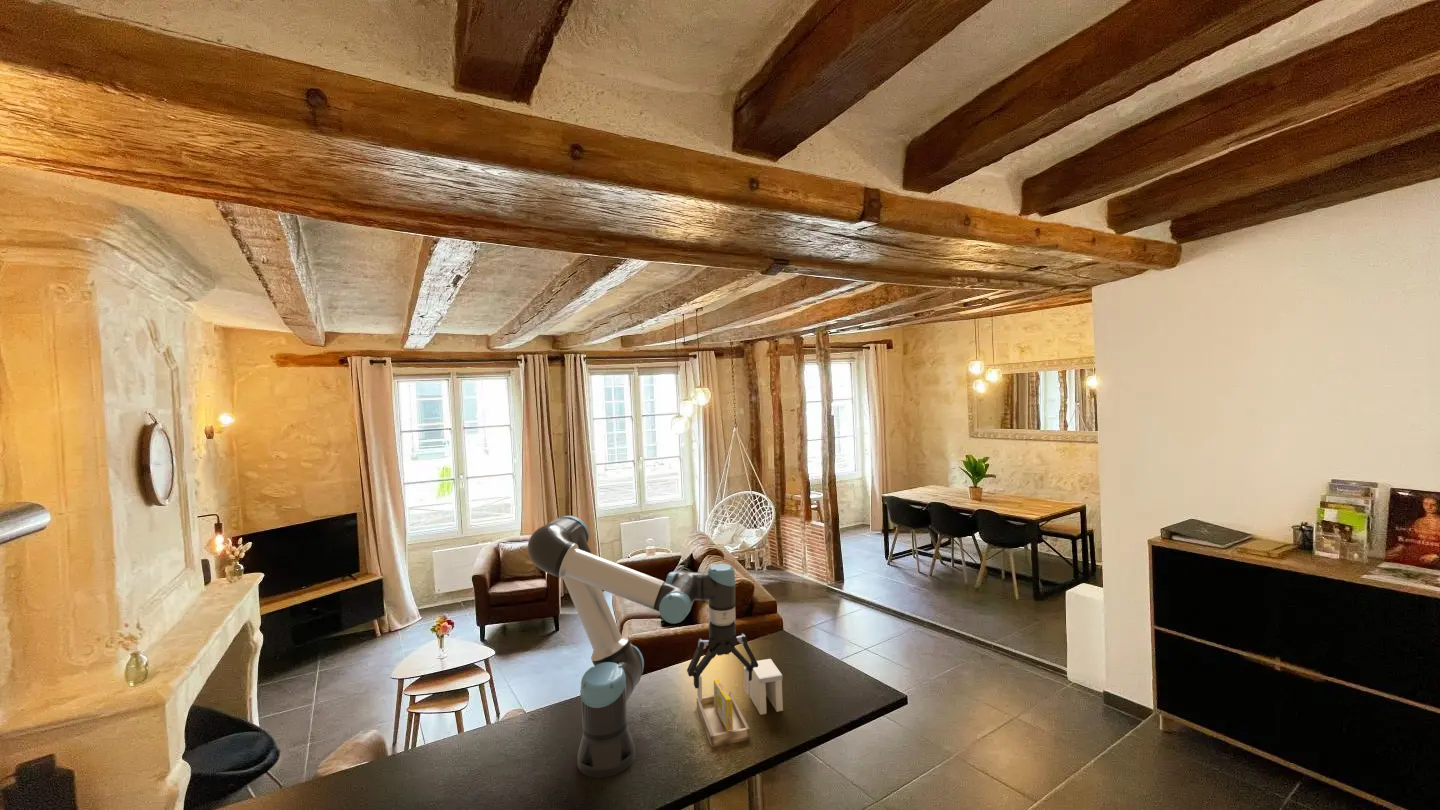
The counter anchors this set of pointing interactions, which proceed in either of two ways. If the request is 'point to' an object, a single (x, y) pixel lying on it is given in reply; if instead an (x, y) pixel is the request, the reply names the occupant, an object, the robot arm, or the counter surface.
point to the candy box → (723, 705)
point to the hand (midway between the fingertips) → (723, 695)
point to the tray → (716, 727)
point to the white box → (766, 686)
